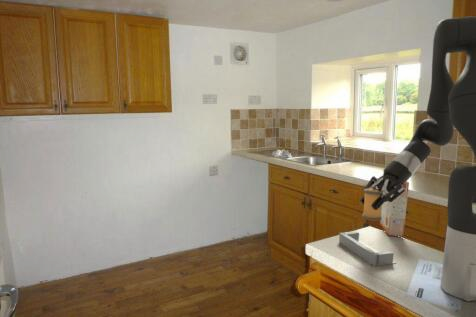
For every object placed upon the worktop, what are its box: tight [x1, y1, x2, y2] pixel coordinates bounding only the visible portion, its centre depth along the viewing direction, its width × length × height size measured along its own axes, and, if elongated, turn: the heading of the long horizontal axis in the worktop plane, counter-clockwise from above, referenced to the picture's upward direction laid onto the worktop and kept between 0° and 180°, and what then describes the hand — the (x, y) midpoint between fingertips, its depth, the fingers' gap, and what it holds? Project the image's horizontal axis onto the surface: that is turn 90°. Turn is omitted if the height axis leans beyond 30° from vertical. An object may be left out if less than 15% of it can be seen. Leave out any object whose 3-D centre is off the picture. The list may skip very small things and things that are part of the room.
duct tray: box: [338, 230, 397, 267], centre depth 112 cm, size 19×8×4 cm, turn 16°
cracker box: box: [379, 180, 410, 238], centre depth 132 cm, size 14×6×21 cm, turn 168°
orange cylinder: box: [361, 187, 383, 221], centre depth 111 cm, size 6×6×9 cm
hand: (367, 205), depth 110 cm, fingers closed on orange cylinder, 5 cm apart
